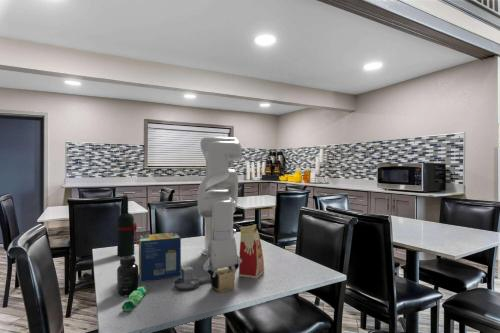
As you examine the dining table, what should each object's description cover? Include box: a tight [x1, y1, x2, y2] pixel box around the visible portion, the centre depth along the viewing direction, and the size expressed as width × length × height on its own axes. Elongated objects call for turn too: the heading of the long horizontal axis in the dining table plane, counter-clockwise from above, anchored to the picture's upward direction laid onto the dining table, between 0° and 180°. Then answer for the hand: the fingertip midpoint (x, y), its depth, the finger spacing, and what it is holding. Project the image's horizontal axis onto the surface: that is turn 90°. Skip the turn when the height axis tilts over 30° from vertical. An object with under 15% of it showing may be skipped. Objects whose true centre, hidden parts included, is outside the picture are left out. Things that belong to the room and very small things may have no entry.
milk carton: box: [238, 224, 265, 280], centre depth 121 cm, size 9×9×20 cm
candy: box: [121, 285, 148, 313], centre depth 95 cm, size 12×3×4 cm
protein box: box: [138, 231, 182, 283], centre depth 120 cm, size 10×15×16 cm
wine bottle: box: [116, 193, 139, 258], centre depth 148 cm, size 8×10×30 cm
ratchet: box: [173, 265, 211, 292], centre depth 112 cm, size 23×9×6 cm, turn 123°
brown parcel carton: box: [211, 267, 236, 293], centre depth 106 cm, size 6×6×6 cm
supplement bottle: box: [116, 255, 140, 297], centre depth 103 cm, size 7×7×12 cm
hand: (222, 284), depth 106 cm, fingers closed on brown parcel carton, 6 cm apart
